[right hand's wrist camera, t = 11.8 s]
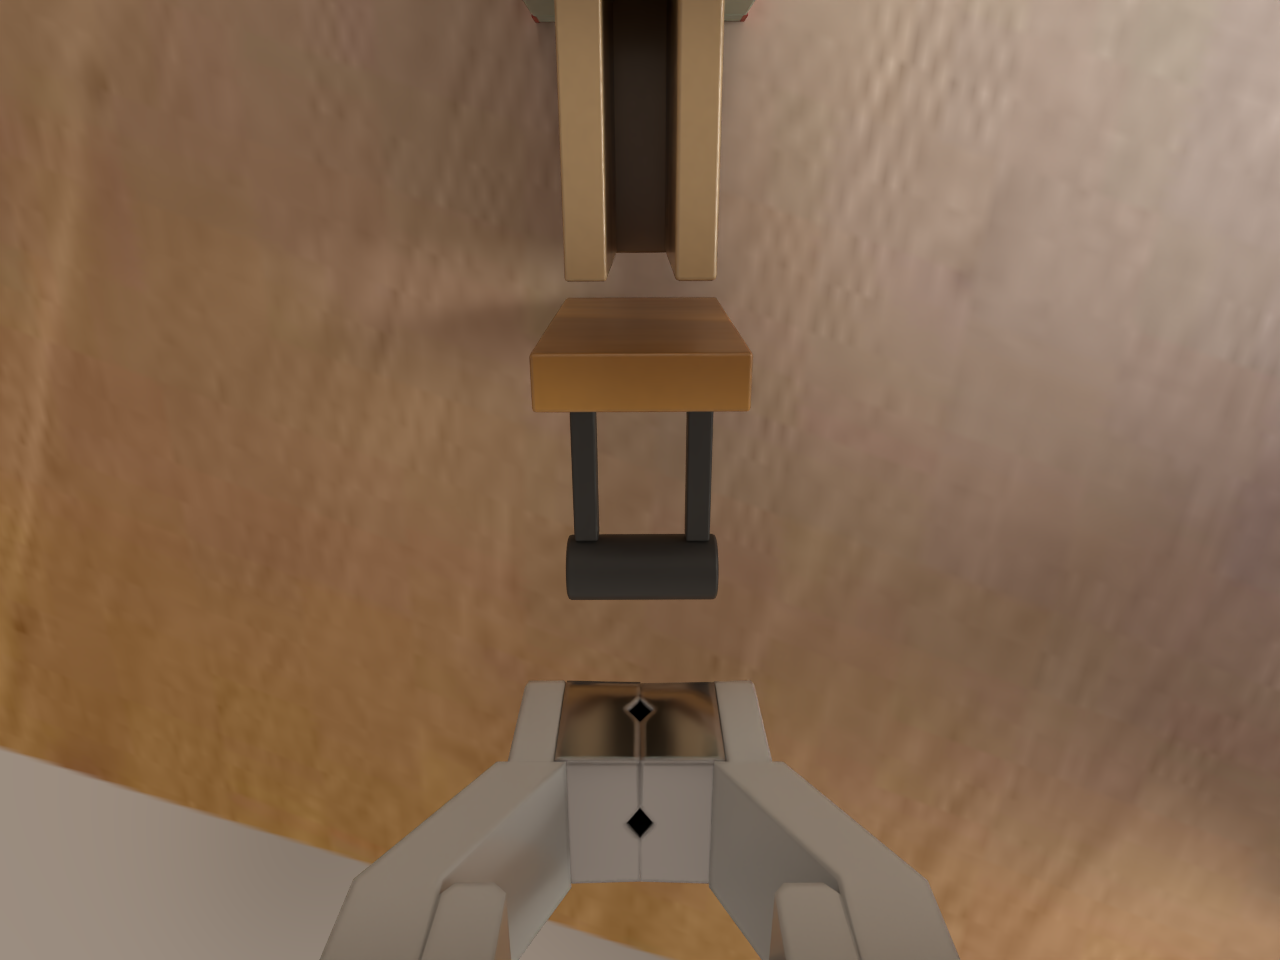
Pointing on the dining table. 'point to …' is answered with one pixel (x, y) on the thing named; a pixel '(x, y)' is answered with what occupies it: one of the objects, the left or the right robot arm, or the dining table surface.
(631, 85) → the drawer
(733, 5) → the red-trimmed green box
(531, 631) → the dining table surface
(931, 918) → the right robot arm
